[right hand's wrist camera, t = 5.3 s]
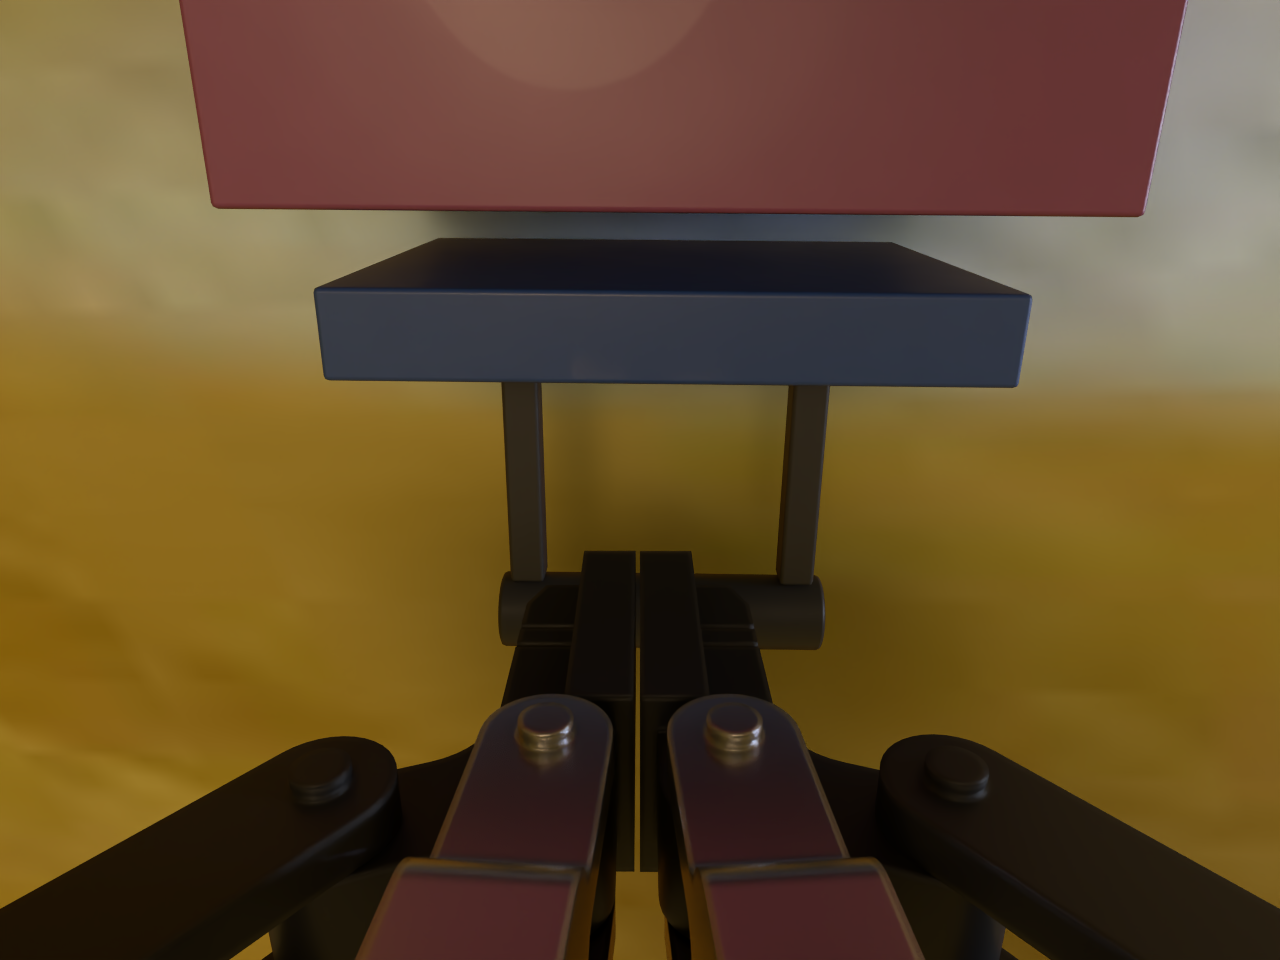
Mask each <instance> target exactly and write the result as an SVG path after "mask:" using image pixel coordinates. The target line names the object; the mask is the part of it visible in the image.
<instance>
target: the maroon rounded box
mask: <svg viewBox="0 0 1280 960" xmlns="http://www.w3.org/2000/svg"><path fill="white" fill-rule="evenodd" d="M179 2H180V9H181V15H182V21H183V28H184V34H185V40H186V47H187V53H188V59H189V66H190V72H191V78H192V84H193V91H194V97H195V103H196V110H197V116H198V122H199V129H200V135H201V141H202V148H203V154H204V160H205V167H206V173H207V179H208V186H209V192H210V198H211V203H212V205H213V207H216V208H218V209H310V210H419V211H528V212H637V213H746V214H855V215H964V216H1073V217H1139V216H1141V215H1143V214H1144V212H1145V209H1146V204H1147V199H1148V194H1149V189H1150V185H1151V180H1152V175H1153V170H1154V165H1155V160H1156V155H1157V150H1158V145H1159V140H1160V135H1161V131H1162V126H1163V121H1164V116H1165V111H1166V106H1167V101H1168V96H1169V91H1170V86H1171V81H1172V77H1173V72H1174V67H1175V62H1176V57H1177V52H1178V47H1179V42H1180V37H1181V32H1182V27H1183V23H1184V18H1185V13H1186V8H1187V3H1188V0H179Z"/></svg>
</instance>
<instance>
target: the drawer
mask: <svg viewBox="0 0 1280 960" xmlns="http://www.w3.org/2000/svg"><path fill="white" fill-rule="evenodd" d="M314 300H315V308H316V316H317V324H318V332H319V340H320V348H321V357H322V365H323V373H324V377H325V379H327V380H346V381H437V382H501V383H502V403H503V423H504V443H505V464H506V484H507V504H508V524H509V545H510V565H511V571H508V572H506V573H505V574H504V576H503V579H502V582H501V587H500V594H499V607H498V623H499V634H500V638H501V642H502V644H504V645H506V646H517V640H518V636H519V632H520V629H521V624H522V620H523V616H524V612H525V608H526V604H527V603H528V602H529V601H530V600H531V599H532V598H533V597H534V596H535V595H536V594H537V593H538V592H539V591H541V590H542V589H543V588H544V587H545V586H546V585H580V578H581V572H546V570H547V540H546V510H545V479H544V449H543V418H542V388H541V383H619V384H710V385H789V389H788V404H787V418H786V432H785V446H784V461H783V475H782V489H781V503H780V518H779V532H778V546H777V561H776V572H777V575H754V574H694V577H695V585H729V586H730V587H732V588H733V589H734V590H735V591H736V592H737V593H738V594H739V595H740V596H741V597H742V598H743V599H744V600H745V601H746V602H748V603H749V607H750V611H751V615H752V620H753V624H754V629H755V632H756V636H757V640H758V647H759V649H782V650H817V649H819V648H820V646H821V644H822V641H823V637H824V629H825V602H824V593H823V588H822V584H821V582H820V579H819V578H818V577H817V576H815V575H813V574H814V562H815V551H816V539H817V528H818V516H819V505H820V493H821V482H822V471H823V459H824V448H825V436H826V425H827V413H828V402H829V390H830V386H891V387H982V388H1013V387H1017V385H1018V383H1019V377H1020V371H1021V365H1022V359H1023V353H1024V347H1025V341H1026V335H1027V329H1028V323H1029V317H1030V311H1031V305H1032V296H1031V295H1029V294H1026V293H1024V292H1021V291H1019V290H1016V289H1013V288H1011V287H1008V286H1005V285H1003V284H1000V283H998V282H995V281H992V280H990V279H987V278H984V277H982V276H979V275H976V274H974V273H971V272H969V271H966V270H963V269H961V268H958V267H955V266H953V265H950V264H947V263H945V262H942V261H940V260H937V259H934V258H932V257H929V256H926V255H924V254H921V253H918V252H916V251H913V250H911V249H908V248H905V247H903V246H900V245H897V244H895V243H892V242H801V241H695V240H589V239H484V238H438V239H435V240H433V241H430V242H428V243H425V244H423V245H420V246H418V247H415V248H413V249H410V250H408V251H405V252H403V253H401V254H398V255H396V256H393V257H391V258H388V259H386V260H383V261H381V262H378V263H376V264H373V265H371V266H369V267H366V268H364V269H361V270H359V271H356V272H354V273H351V274H349V275H346V276H344V277H341V278H339V279H336V280H334V281H332V282H329V283H327V284H324V285H322V286H319V287H317V288H315V289H314ZM636 647H637V648H640V573H636Z"/></svg>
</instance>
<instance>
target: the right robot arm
mask: <svg viewBox="0 0 1280 960" xmlns="http://www.w3.org/2000/svg"><path fill="white" fill-rule="evenodd" d="M635 713H636V554H635V551H584V557H583V564H582V571H581V578H580V585H546V586H545V587H544V588H543V589H542V590H541V591H539V592H538V593H537V594H536V595H535V596H534V597H533V598H532V599H531V600H530V601H529V602H528V603H527V604H526V608H525V612H524V616H523V620H522V624H521V629H520V632H519V636H518V640H517V647H516V648H515V652H514V656H513V660H512V664H511V668H510V672H509V676H508V680H507V684H506V688H505V692H504V696H503V700H502V704H501V708H499V709H498V710H496V711H495V712H494V713H493V714H491V715H490V716H489V717H488V719H487V720H486V721H485V722H484V724H483V726H482V727H481V729H480V732H479V734H478V737H477V739H476V742H475V744H473V745H472V746H470V747H468V748H467V749H465V750H463V751H461V752H459V753H457V754H454V755H451V756H449V757H446V758H443V759H439V760H436V761H432V762H428V763H423V764H419V765H414V766H409V767H405V768H400V769H397V766H396V762H395V759H394V757H393V755H392V754H391V753H390V751H389V750H388V749H386V748H385V747H384V746H383V745H381V744H379V743H377V742H375V741H372V740H368V739H365V738H359V737H349V736H340V737H329V738H323V739H317V740H314V741H310V742H307V743H304V744H301V745H298V746H296V747H293V748H291V749H289V750H287V751H285V752H283V753H281V754H279V755H277V756H276V757H274V758H272V759H270V760H268V761H267V762H265V763H263V764H261V765H259V766H258V767H256V768H254V769H252V770H250V771H248V772H247V773H245V774H243V775H241V776H239V777H238V778H236V779H234V780H232V781H230V782H229V783H227V784H225V785H223V786H221V787H220V788H218V789H216V790H214V791H212V792H211V793H209V794H207V795H205V796H203V797H202V798H200V799H198V800H196V801H194V802H192V803H191V804H189V805H187V806H185V807H183V808H182V809H180V810H178V811H176V812H174V813H173V814H171V815H169V816H167V817H165V818H164V819H162V820H160V821H158V822H156V823H155V824H153V825H151V826H149V827H147V828H146V829H144V830H142V831H140V832H138V833H137V834H135V835H133V836H131V837H129V838H127V839H126V840H124V841H122V842H120V843H118V844H117V845H115V846H113V847H111V848H109V849H108V850H106V851H104V852H102V853H100V854H99V855H97V856H95V857H93V858H91V859H90V860H88V861H86V862H84V863H82V864H81V865H79V866H77V867H75V868H73V869H71V870H70V871H68V872H66V873H64V874H62V875H61V876H59V877H57V878H55V879H53V880H52V881H50V882H48V883H46V884H44V885H43V886H41V887H39V888H37V889H35V890H34V891H32V892H30V893H28V894H26V895H25V896H23V897H21V898H19V899H17V900H16V901H14V902H12V903H10V904H8V905H6V906H5V907H3V908H1V909H0V960H229V959H231V958H232V957H234V956H235V955H237V954H238V953H239V952H241V951H242V950H244V949H245V948H246V947H248V946H249V945H251V944H252V943H253V942H255V941H256V940H258V939H259V938H260V937H262V936H263V935H265V934H266V933H268V932H269V937H270V942H271V947H272V952H271V953H270V954H269V955H267V956H266V957H265V958H263V959H262V960H613V953H614V945H615V932H616V924H615V886H616V871H634V837H635ZM640 872H658V889H659V902H660V906H661V909H662V912H663V914H664V915H665V924H664V933H665V945H666V953H667V960H1018V959H1017V958H1015V957H1014V956H1013V955H1011V954H1010V953H1009V952H1007V951H1006V950H1004V949H1003V948H1002V943H1003V938H1004V933H1005V928H1007V929H1008V930H1010V931H1011V932H1012V933H1014V934H1015V935H1017V936H1018V937H1019V938H1021V939H1022V940H1024V941H1025V942H1027V943H1028V944H1029V945H1031V946H1032V947H1034V948H1035V949H1036V950H1038V951H1039V952H1041V953H1042V954H1043V955H1045V956H1046V957H1048V958H1049V959H1050V960H1280V909H1279V908H1277V907H1275V906H1273V905H1272V904H1270V903H1268V902H1266V901H1264V900H1263V899H1261V898H1259V897H1257V896H1255V895H1254V894H1252V893H1250V892H1248V891H1246V890H1245V889H1243V888H1241V887H1239V886H1237V885H1236V884H1234V883H1232V882H1230V881H1228V880H1227V879H1225V878H1223V877H1221V876H1219V875H1218V874H1216V873H1214V872H1212V871H1210V870H1208V869H1207V868H1205V867H1203V866H1201V865H1199V864H1198V863H1196V862H1194V861H1192V860H1190V859H1189V858H1187V857H1185V856H1183V855H1181V854H1180V853H1178V852H1176V851H1174V850H1172V849H1171V848H1169V847H1167V846H1165V845H1163V844H1162V843H1160V842H1158V841H1156V840H1154V839H1152V838H1151V837H1149V836H1147V835H1145V834H1143V833H1142V832H1140V831H1138V830H1136V829H1134V828H1133V827H1131V826H1129V825H1127V824H1125V823H1124V822H1122V821H1120V820H1118V819H1116V818H1115V817H1113V816H1111V815H1109V814H1107V813H1106V812H1104V811H1102V810H1100V809H1098V808H1097V807H1095V806H1093V805H1091V804H1089V803H1087V802H1086V801H1084V800H1082V799H1080V798H1078V797H1077V796H1075V795H1073V794H1071V793H1069V792H1068V791H1066V790H1064V789H1062V788H1060V787H1059V786H1057V785H1055V784H1053V783H1051V782H1050V781H1048V780H1046V779H1044V778H1042V777H1041V776H1039V775H1037V774H1035V773H1033V772H1031V771H1030V770H1028V769H1026V768H1024V767H1022V766H1021V765H1019V764H1017V763H1015V762H1013V761H1012V760H1010V759H1008V758H1006V757H1004V756H1003V755H1001V754H999V753H997V752H995V751H993V750H991V749H989V748H987V747H985V746H983V745H981V744H978V743H975V742H973V741H970V740H966V739H962V738H959V737H953V736H947V735H935V734H933V735H918V736H912V737H909V738H906V739H902V740H900V741H898V742H896V743H894V744H893V745H892V746H891V747H889V748H888V749H887V751H886V752H885V753H884V755H883V757H882V759H881V762H880V770H876V769H872V768H867V767H863V766H858V765H854V764H849V763H845V762H841V761H837V760H833V759H830V758H827V757H824V756H822V755H819V754H817V753H815V752H813V751H811V750H809V749H807V747H806V744H805V742H804V739H803V737H802V734H801V732H800V729H799V727H798V726H797V724H796V722H795V721H794V720H793V719H792V717H791V716H790V715H789V714H787V713H786V712H785V711H784V710H782V709H781V708H779V707H777V706H776V705H774V704H773V703H772V699H771V694H770V690H769V686H768V682H767V678H766V674H765V669H764V665H763V661H762V657H761V653H760V649H759V647H758V640H757V636H756V632H755V629H754V624H753V620H752V615H751V611H750V607H749V603H748V602H746V601H745V600H744V599H743V598H742V597H741V596H740V595H739V594H738V593H737V592H736V591H735V590H734V589H733V588H732V587H730V586H729V585H695V577H694V569H693V561H692V554H691V551H640Z"/></svg>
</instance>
